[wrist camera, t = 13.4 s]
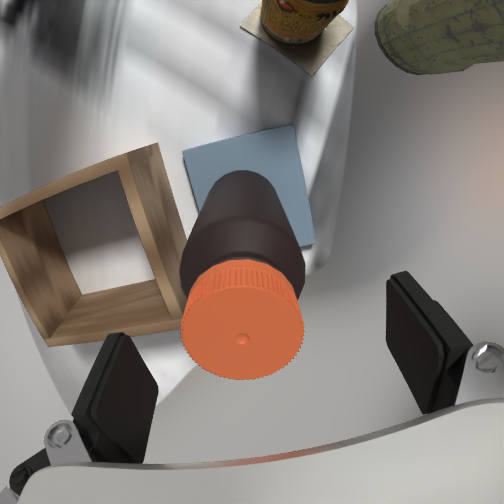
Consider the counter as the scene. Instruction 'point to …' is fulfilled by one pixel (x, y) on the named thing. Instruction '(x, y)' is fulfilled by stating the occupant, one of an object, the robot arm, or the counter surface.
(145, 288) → the crate
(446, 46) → the thermos
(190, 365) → the counter surface
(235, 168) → the mat
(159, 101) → the counter surface
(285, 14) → the condiment
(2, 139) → the counter surface
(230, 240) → the vinegar
